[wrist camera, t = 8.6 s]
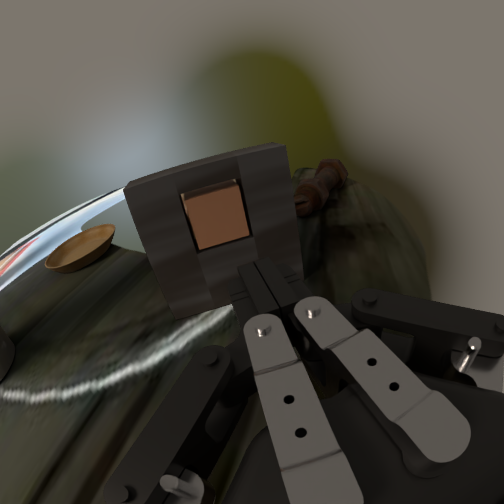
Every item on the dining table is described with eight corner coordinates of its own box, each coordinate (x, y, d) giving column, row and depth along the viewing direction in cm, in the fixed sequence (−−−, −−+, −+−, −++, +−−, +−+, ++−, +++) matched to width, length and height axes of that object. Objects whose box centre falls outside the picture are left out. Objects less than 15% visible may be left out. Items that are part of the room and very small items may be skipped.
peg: (249, 235, 21) (238, 185, 20) (199, 249, 21) (184, 201, 19) (223, 194, 33) (215, 162, 31) (191, 203, 32) (182, 171, 30)
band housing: (304, 280, 25) (285, 145, 19) (175, 320, 23) (122, 190, 17) (257, 220, 39) (239, 135, 33) (173, 244, 37) (147, 161, 31)
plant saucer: (106, 268, 36) (99, 253, 34) (39, 288, 35) (31, 275, 34) (128, 228, 49) (124, 216, 47) (69, 248, 48) (64, 237, 46)
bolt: (297, 232, 37) (331, 192, 47) (326, 218, 34) (353, 180, 44) (273, 197, 36) (312, 165, 46) (300, 180, 33) (334, 151, 43)
